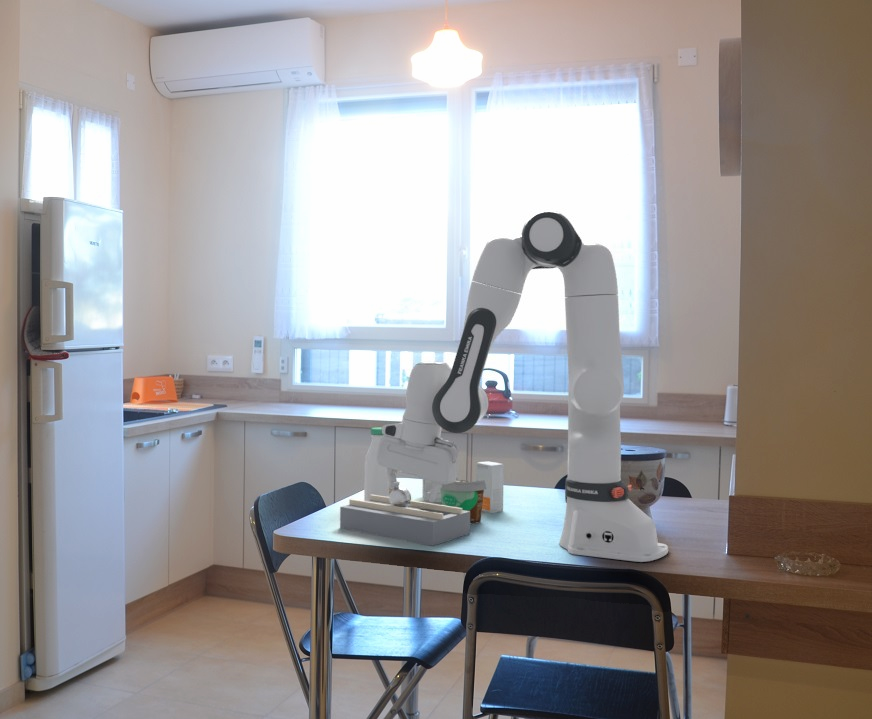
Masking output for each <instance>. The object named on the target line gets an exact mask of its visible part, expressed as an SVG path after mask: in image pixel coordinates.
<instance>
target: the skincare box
mask: <svg viewBox="0 0 872 719" xmlns="http://www.w3.org/2000/svg"><path fill="white" fill-rule="evenodd" d="M504 466H505V465H504V463H499V462H495V461H489V460H488V461H479V462H476V481H475V482H477V481H483V480H485V483H486V488H487V489H485V490H484V494H483V503H482V510H483V511H482V512H486V513H489V514H492V513H499V512H504V475H505V474H504V472H505V471H504V470H505V468H504Z"/></svg>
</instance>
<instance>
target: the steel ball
mask: <svg viewBox="0 0 872 719" xmlns="http://www.w3.org/2000/svg"><path fill="white" fill-rule="evenodd" d="M411 501H412V495H411V492H410V491H409V490H408V489H407V488H406V487H403V486H399V487H397V488H396V489H395V490H392V491H391V493H390V495H389V502H390V504H391V505H392V506H398V507H404V508H407V507H408V506H409V504H410V502H411Z"/></svg>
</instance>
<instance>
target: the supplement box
mask: <svg viewBox="0 0 872 719" xmlns="http://www.w3.org/2000/svg"><path fill="white" fill-rule="evenodd" d="M431 485H432V481H430V480H427V479H423V478H422V500H423V499H424V500H423V502H425V503H431V502H430V501H427V500H426V492H430V491H431V490H432V488H433V487H434V486H431ZM432 503H441V492H440V490H439V491H438V493H436V499H435V501H433V502H432Z"/></svg>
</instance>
